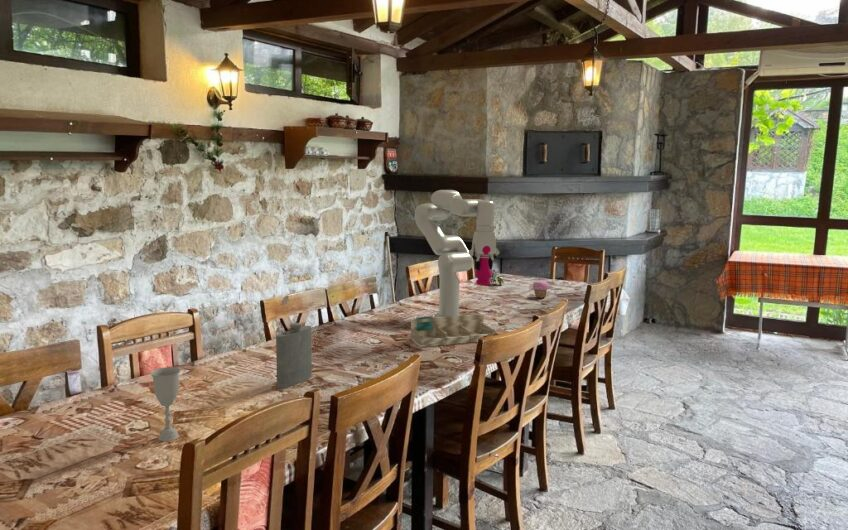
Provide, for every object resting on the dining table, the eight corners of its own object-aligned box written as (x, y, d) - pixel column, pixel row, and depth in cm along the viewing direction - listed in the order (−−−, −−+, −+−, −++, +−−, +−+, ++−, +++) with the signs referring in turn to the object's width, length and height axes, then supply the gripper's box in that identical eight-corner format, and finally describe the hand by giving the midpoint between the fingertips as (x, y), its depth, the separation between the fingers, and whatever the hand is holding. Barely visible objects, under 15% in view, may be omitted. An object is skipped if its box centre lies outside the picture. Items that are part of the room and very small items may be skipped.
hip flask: (306, 374, 219) (305, 318, 216) (315, 376, 217) (315, 319, 214) (274, 387, 205) (273, 327, 202) (284, 390, 203) (283, 329, 200)
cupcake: (550, 297, 359) (551, 279, 357) (544, 299, 351) (545, 282, 350) (535, 295, 363) (536, 278, 362) (529, 297, 356) (530, 280, 355)
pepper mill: (490, 286, 278) (491, 240, 275) (474, 285, 279) (475, 240, 276) (492, 283, 285) (493, 238, 282) (476, 282, 286) (477, 238, 283)
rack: (420, 347, 255) (421, 324, 253) (410, 339, 266) (411, 317, 264) (494, 340, 267) (495, 318, 265) (482, 333, 278) (482, 312, 276)
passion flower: (488, 293, 394) (478, 277, 395) (496, 288, 402) (486, 272, 403) (501, 285, 387) (490, 269, 388) (509, 280, 395) (498, 264, 396)
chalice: (173, 429, 172) (170, 365, 169) (188, 435, 168) (185, 370, 165) (148, 438, 166) (144, 372, 163) (163, 445, 162) (160, 377, 159)
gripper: (498, 227, 285) (496, 267, 288) (463, 228, 279) (462, 269, 281) (506, 229, 278) (504, 270, 281) (470, 230, 272) (469, 271, 275)
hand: (483, 269), depth 281 cm, fingers closed on pepper mill, 5 cm apart
